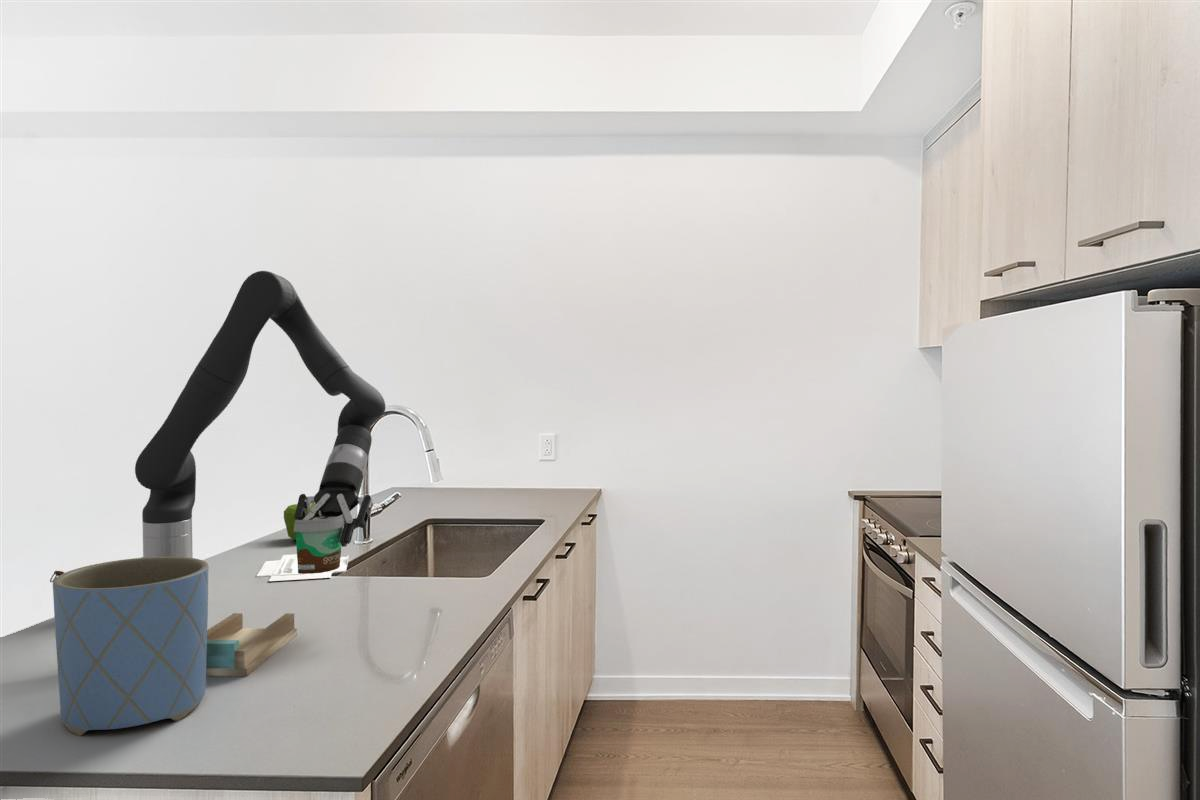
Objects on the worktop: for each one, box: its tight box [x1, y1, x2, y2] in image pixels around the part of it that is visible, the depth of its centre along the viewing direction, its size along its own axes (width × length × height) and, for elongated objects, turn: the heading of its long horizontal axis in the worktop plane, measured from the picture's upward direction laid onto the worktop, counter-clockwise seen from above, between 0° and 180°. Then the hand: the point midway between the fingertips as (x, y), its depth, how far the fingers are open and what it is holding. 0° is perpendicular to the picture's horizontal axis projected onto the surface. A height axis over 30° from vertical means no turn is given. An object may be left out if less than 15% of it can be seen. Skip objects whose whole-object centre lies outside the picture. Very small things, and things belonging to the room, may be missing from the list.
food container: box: [294, 514, 347, 574], centre depth 148 cm, size 12×6×10 cm, turn 169°
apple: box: [283, 503, 320, 541], centre depth 231 cm, size 12×12×11 cm
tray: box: [256, 553, 350, 583], centre depth 199 cm, size 20×28×4 cm
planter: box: [52, 557, 209, 736], centre depth 114 cm, size 19×19×20 cm
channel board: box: [206, 612, 298, 677], centre depth 137 cm, size 12×20×5 cm, turn 179°
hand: (323, 543), depth 147 cm, fingers closed on food container, 6 cm apart
